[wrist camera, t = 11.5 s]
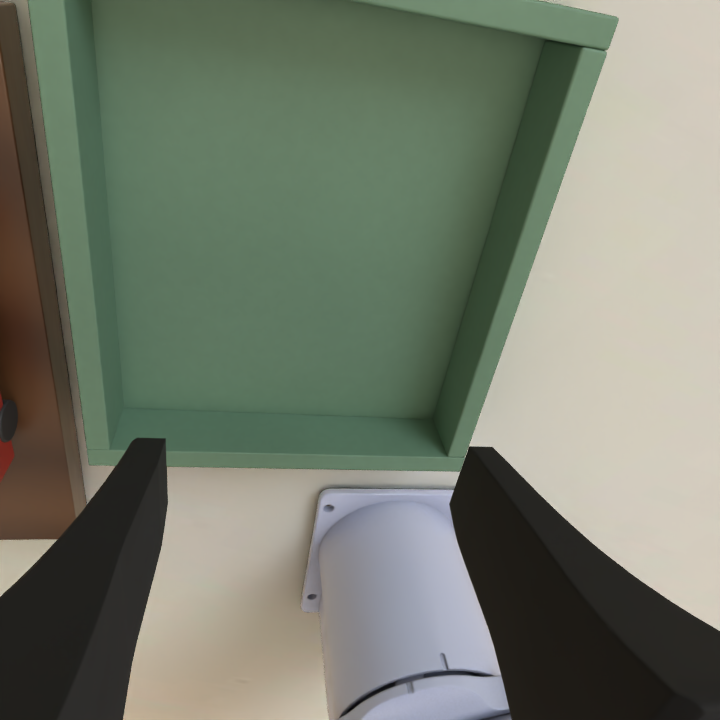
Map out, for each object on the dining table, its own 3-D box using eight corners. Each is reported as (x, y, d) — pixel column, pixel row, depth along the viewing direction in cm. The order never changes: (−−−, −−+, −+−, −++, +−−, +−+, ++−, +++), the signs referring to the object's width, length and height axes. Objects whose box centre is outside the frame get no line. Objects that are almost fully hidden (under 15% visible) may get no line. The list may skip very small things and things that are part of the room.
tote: (442, 428, 26) (460, 472, 24) (106, 417, 23) (88, 465, 21) (572, 13, 17) (621, 17, 15) (53, -95, 14) (12, -110, 12)
